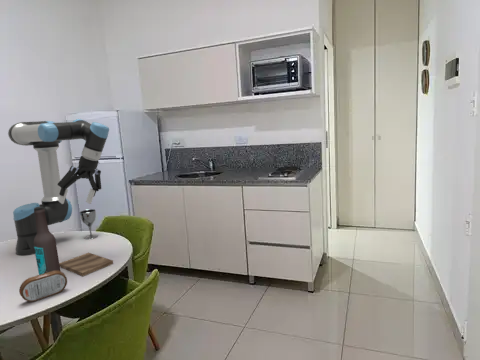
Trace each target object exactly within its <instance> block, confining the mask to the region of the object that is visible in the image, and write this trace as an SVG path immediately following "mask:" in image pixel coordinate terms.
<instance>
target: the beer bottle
mask: <svg viewBox="0 0 480 360" xmlns="http://www.w3.org/2000/svg"><path fill="white" fill-rule="evenodd" d="M34 213H35V219H36V229H37V235H36V237H35V238H34V249H35V253H34V254H35V261H36V266H37V271H38V275H41V274H44V273H48V272H51V271H61V272H62V270H61V267H60V264H59V263H60V260H59V255H58V254H59V253H58V247H57V242H56V238H55V235H54V234H53V233H52V232H51V231H50V229H49V225H47V221H46V217H45V210H44V207H43V206H41V207H36V208H34Z"/></svg>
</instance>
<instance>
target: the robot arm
mask: <svg viewBox="0 0 480 360" xmlns="http://www.w3.org/2000/svg"><path fill="white" fill-rule="evenodd" d="M7 132H8V133H7V135H8V137H9V140H10V141H11V142H13V143H14V144H15V145H19V146H25V147H26V146H32V147H33V150H35V151H36V152H37V157H38V164H39V172H40V177H41V185H42V192H43V197H42V199H41V204H40V203H39V202H30V203H26V204H23V205H21V206H18V207H16V208H14V210H13V212H12V213H13V221H14V226H15V232H16V236H17V237H16V238H17V239H16V243H15V244H16V245H15V250H14V251H15V254H16V255H17V256H28V255H34V254H35V249H34V238H35V237H36V235H37V229H36V219H35V213H34V208H36V207H41V206H43V207H44V210H45V217H46V221H47V225H48V226H50V225H51V226H52V225H54V224H55V225H56V224H59V223H63V222H64V221H68V220H69V219H70V218H71V216H72V215H73V214H72V213H73V206H72V203H71V201H70V200H69V199H68V198H67V195H68V193H69V192H68V191H69V189H68V188H69V187H70V186H71V185H73V184H74V183H76V182H77V181H78V180H80V179H87V180H88V181H89V184H90V187H91V188H90V189H89V192H88V195H87V197H86V200H85V202H86V203H87V204H89V205H91V204H92V202H93V200H94V197H95V196H96V193H97V192H99V190H102V183H101V181H102V180H101V173H102V171H101V170H100V169H98V167H99V166H98V165H99V160H100V159H101V156H102V154H103V149H104V147H105V144H106V142H107V139H108V137H109V132H110V128H109V127H108V126H107V125H105V124H104V123H103V124H102V123H99V122H96V121H92V122H91V123H90V122H89V121H87V120H84V119H81V118H80V119H79V118H78V119H75V120H73V121H67V122H55V121H50V120H42V121H41V120H40V121H39V120H38V121H21V122H17V123H15V124H13V125H11V126H10V127H9V129H8V131H7ZM69 140H70V141H71V140H84V141H85V143H84V145H83V148H82V151H81V156H80V157H79V161H78V166H77V167H75V166H74V165H71V166H70V168H69V169H68V171H67V172H66V173H65V174H64V175H63V177H62V178H61V177H60V167H59V161H58V154H57V151H58V148H60V145H59V144H60V143H62V142H63V141H69Z"/></svg>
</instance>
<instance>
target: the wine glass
mask: <svg viewBox="0 0 480 360" xmlns="http://www.w3.org/2000/svg"><path fill="white" fill-rule="evenodd" d="M79 216H80V220H81V222H82V223H83V224H84V225H85V226H86V227H88V230H89V235H88V236H85V237H84V240H92V239H93V240H94V239H97V238H98V237H99V235H98V234H92V226H93V224H94V223H95V221H96V218H97V212H96V209H94V208H93V209H92V208H90V209H84V210H81V211H79Z"/></svg>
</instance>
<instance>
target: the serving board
mask: <svg viewBox="0 0 480 360" xmlns="http://www.w3.org/2000/svg"><path fill="white" fill-rule="evenodd" d="M59 264H60V269H64V270H66V271H69V272H71V273H74V274H76V275H78V276H81V277H84V276H87V275H90V274H92V273H95V272H97V271H99V270H102V269H104V268H107V267H109V266H111V265H113V264H114V260H113V259H111V258H110V259H109V258H106V257H103V256H100V255H97V254H94V253H91V252H87V253H83V254H81V255H78V256H75V257H72V258H70V259H67V260H64V261H62V262H59Z"/></svg>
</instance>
